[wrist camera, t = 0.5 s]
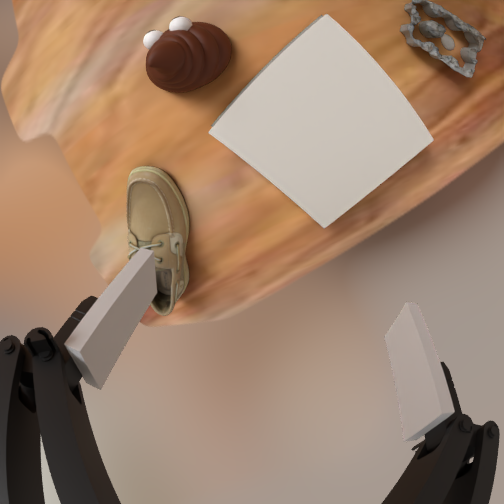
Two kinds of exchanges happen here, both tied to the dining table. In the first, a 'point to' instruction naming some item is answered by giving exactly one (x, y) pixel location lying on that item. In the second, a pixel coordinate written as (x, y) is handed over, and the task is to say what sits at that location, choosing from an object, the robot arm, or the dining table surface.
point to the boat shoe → (159, 231)
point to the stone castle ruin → (443, 35)
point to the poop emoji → (186, 55)
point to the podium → (323, 122)
